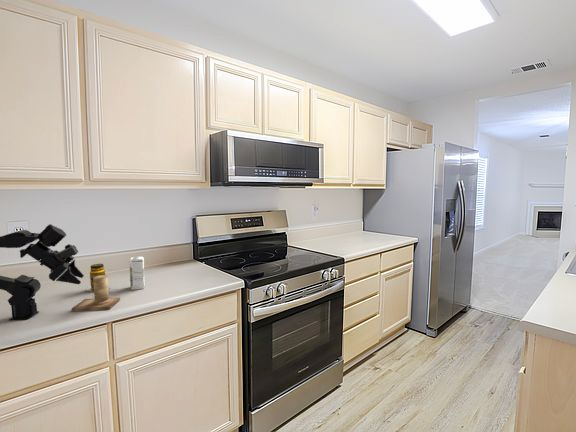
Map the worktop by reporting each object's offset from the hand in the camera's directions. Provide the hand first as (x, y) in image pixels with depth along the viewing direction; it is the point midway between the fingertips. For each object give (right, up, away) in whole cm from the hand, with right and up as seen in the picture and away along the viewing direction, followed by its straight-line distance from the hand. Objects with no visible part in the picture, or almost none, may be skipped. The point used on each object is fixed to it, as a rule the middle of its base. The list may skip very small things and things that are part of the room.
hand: (81, 280), depth 125 cm
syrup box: (+10, -9, +26) cm, 29 cm away
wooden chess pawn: (+6, -10, +4) cm, 12 cm away
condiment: (-8, -9, +24) cm, 26 cm away
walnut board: (+4, -11, +4) cm, 12 cm away
